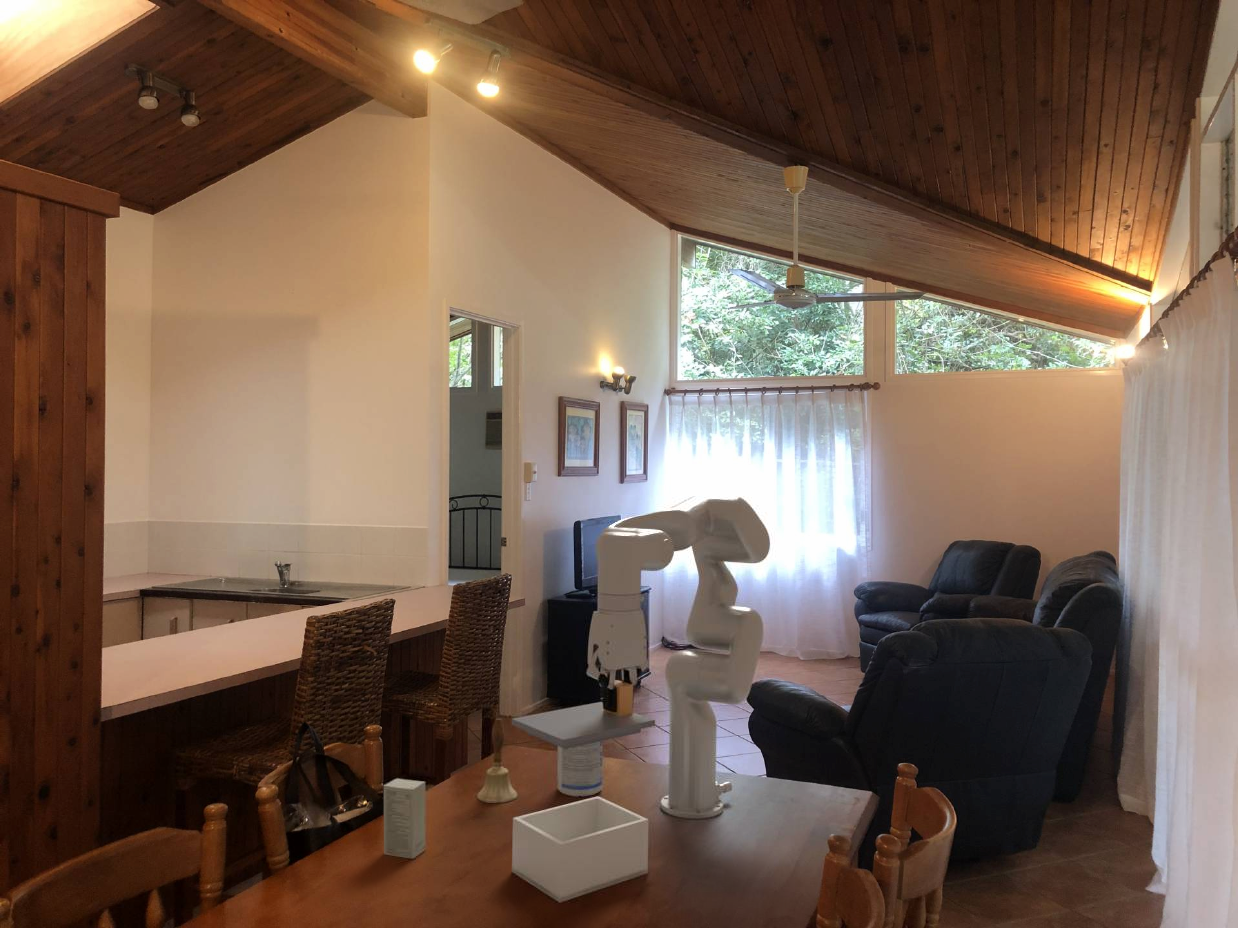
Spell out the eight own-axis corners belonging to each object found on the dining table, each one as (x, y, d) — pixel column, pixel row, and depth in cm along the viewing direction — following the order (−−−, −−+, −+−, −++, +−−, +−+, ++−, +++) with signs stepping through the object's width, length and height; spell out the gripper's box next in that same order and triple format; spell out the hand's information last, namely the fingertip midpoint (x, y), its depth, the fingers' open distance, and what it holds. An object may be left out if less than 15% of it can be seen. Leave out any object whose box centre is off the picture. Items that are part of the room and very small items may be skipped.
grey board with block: (600, 713, 167) (601, 674, 167) (654, 732, 155) (655, 690, 155) (511, 731, 155) (512, 688, 155) (562, 753, 143) (563, 707, 143)
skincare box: (426, 850, 162) (427, 781, 163) (412, 860, 158) (414, 789, 158) (395, 845, 165) (396, 776, 165) (381, 854, 160) (382, 784, 161)
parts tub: (597, 846, 165) (598, 795, 166) (647, 873, 154) (648, 819, 155) (511, 871, 154) (512, 817, 154) (559, 902, 143) (560, 844, 143)
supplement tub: (610, 792, 194) (611, 722, 194) (571, 801, 188) (573, 729, 189) (586, 779, 202) (587, 712, 202) (548, 787, 197) (549, 718, 197)
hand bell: (470, 794, 191) (471, 717, 192) (504, 787, 196) (506, 712, 197) (489, 806, 185) (490, 726, 185) (524, 798, 190) (526, 720, 190)
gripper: (641, 596, 168) (640, 697, 168) (568, 604, 158) (567, 711, 158) (668, 601, 162) (667, 706, 162) (594, 609, 152) (593, 721, 152)
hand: (618, 707), depth 160 cm, fingers closed on grey board with block, 3 cm apart
